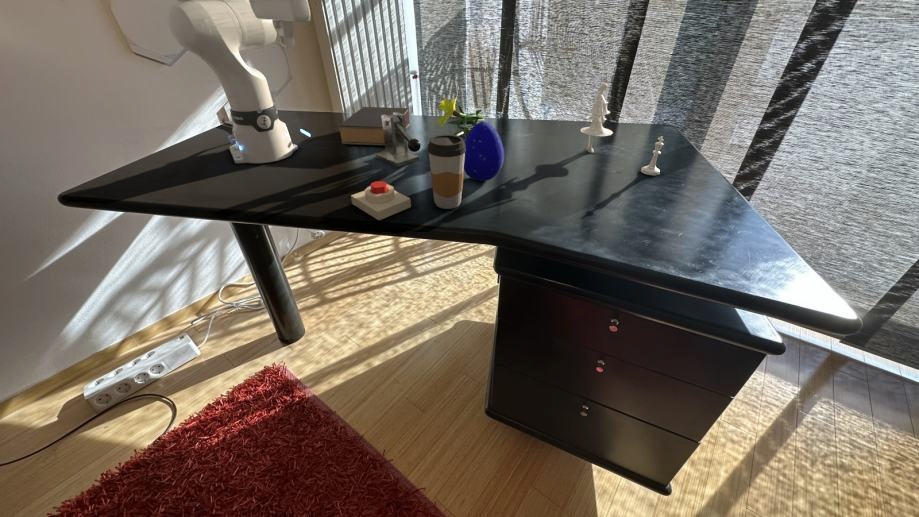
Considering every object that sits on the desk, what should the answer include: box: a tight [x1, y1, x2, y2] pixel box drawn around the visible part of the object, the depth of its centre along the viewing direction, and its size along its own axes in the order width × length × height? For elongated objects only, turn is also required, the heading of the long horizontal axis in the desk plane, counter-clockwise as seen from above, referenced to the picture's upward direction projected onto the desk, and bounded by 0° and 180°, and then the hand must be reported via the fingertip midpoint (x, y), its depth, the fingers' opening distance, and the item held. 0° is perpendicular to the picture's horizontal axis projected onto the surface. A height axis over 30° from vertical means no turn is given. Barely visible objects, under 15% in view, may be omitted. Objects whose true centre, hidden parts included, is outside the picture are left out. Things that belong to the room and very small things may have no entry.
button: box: [370, 180, 388, 194], centre depth 82 cm, size 4×4×2 cm
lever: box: [389, 114, 422, 153], centre depth 101 cm, size 13×4×4 cm, turn 45°
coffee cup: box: [427, 134, 466, 210], centre depth 81 cm, size 8×8×15 cm
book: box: [338, 106, 411, 146], centre depth 125 cm, size 17×25×7 cm
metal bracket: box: [375, 112, 420, 168], centre depth 105 cm, size 11×8×13 cm
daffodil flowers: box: [435, 86, 490, 140], centre depth 116 cm, size 17×15×35 cm
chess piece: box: [640, 135, 665, 176], centre depth 98 cm, size 5×5×10 cm
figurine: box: [580, 82, 614, 154], centre depth 109 cm, size 13×10×20 cm
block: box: [350, 184, 412, 221], centre depth 83 cm, size 11×9×4 cm
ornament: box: [464, 121, 506, 182], centre depth 92 cm, size 11×9×15 cm
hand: (288, 46), depth 76 cm, fingers closed
